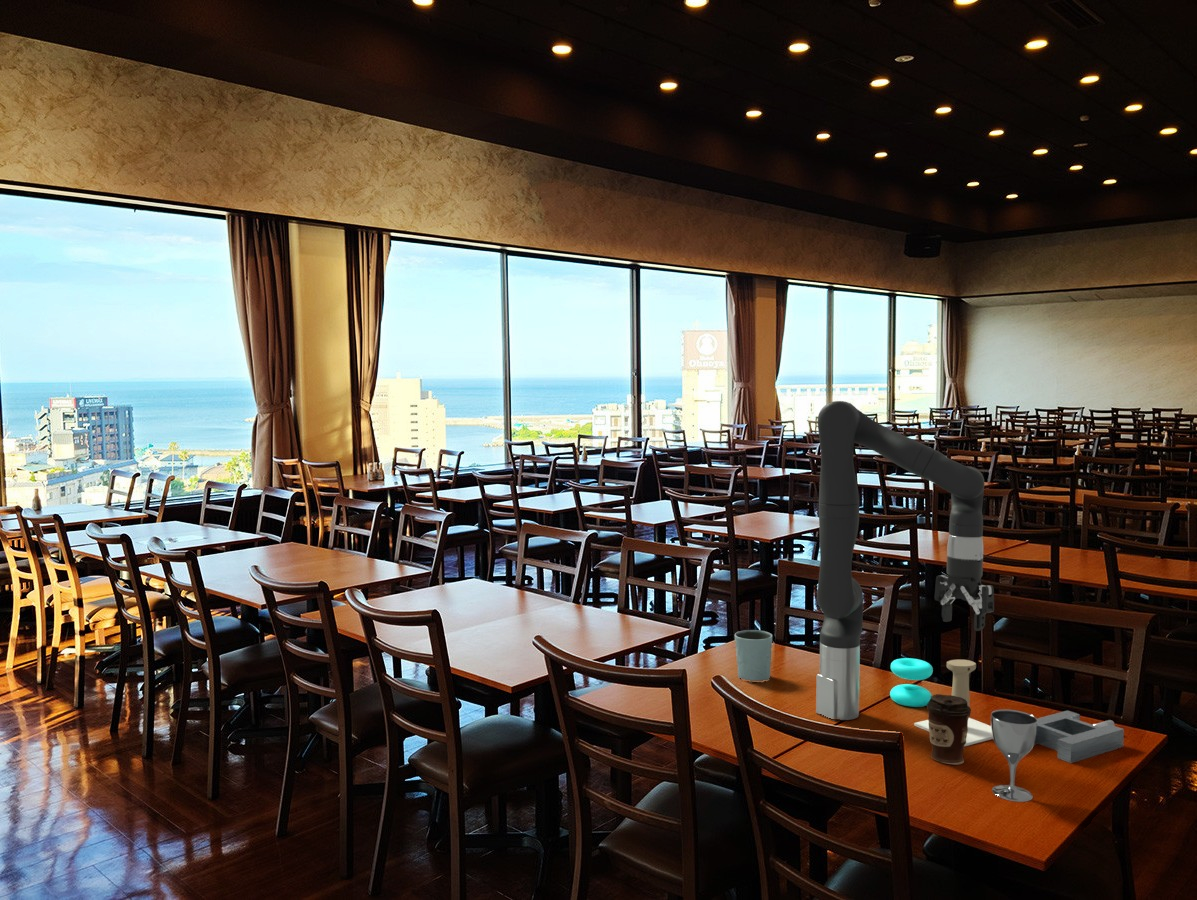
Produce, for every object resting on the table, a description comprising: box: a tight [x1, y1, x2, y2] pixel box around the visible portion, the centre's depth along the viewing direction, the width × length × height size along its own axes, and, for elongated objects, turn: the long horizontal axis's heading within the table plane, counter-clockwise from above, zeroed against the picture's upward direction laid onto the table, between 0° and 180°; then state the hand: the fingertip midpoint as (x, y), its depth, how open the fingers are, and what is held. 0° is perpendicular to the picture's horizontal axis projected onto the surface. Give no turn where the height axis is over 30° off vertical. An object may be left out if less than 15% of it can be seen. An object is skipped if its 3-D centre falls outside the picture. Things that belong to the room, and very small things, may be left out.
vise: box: [1034, 710, 1125, 764], centre depth 193 cm, size 24×13×4 cm, turn 118°
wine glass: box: [990, 708, 1037, 803], centre depth 167 cm, size 8×8×15 cm
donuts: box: [889, 657, 934, 708], centre depth 219 cm, size 10×10×10 cm
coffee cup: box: [926, 693, 972, 766], centre depth 183 cm, size 9×8×13 cm
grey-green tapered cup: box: [734, 629, 773, 681], centre depth 238 cm, size 10×10×12 cm
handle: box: [946, 659, 977, 725], centre depth 200 cm, size 5×6×15 cm
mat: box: [913, 717, 994, 747], centre depth 200 cm, size 14×14×1 cm
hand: (962, 625), depth 199 cm, fingers open, 8 cm apart
